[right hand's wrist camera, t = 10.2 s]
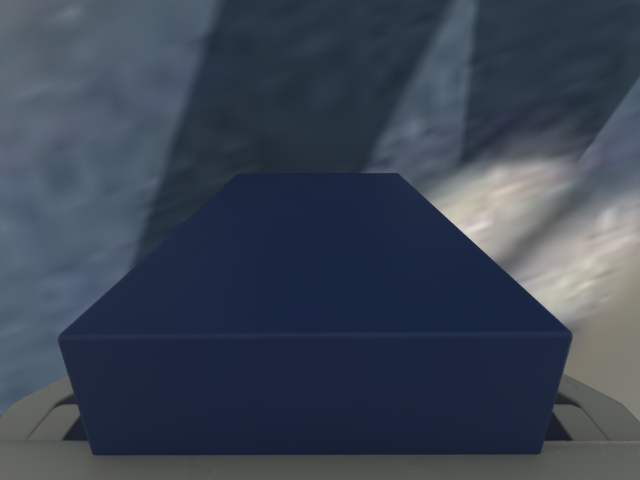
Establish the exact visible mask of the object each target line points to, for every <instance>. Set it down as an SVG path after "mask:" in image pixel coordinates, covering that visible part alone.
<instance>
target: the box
mask: <svg viewBox="0 0 640 480" xmlns="http://www.w3.org/2000/svg"><path fill="white" fill-rule="evenodd" d="M572 338H573V337H572V333H571V331H570V330H569V329H568V328H567V327H565V326H564V325H563V324H562V323H561V322H560V321H559V320H558V319H557V318H556V317H555V316H553V315H552V314H551V313H550V312H549V311H548V310H547V309H546V308H545V307H544V306H542V305H541V304H540V303H539V302H538V301H537V300H536V299H535V298H534V297H533V296H532V295H530V294H529V293H528V292H527V291H526V290H525V289H524V288H523V287H522V286H521V285H519V284H518V283H517V282H516V281H515V280H514V279H513V278H512V277H511V276H510V275H509V274H507V273H506V272H505V271H504V270H503V269H502V268H501V267H500V266H499V265H498V264H497V263H495V262H494V261H493V260H492V259H491V258H490V257H489V256H488V255H487V254H486V253H484V252H483V251H482V250H481V249H480V248H479V247H478V246H477V245H476V244H475V243H474V242H472V241H471V240H470V239H469V238H468V237H467V236H466V235H465V234H464V233H463V232H462V231H460V230H459V229H458V228H457V227H456V226H455V225H454V224H453V223H452V222H451V221H449V220H448V219H447V218H446V217H445V216H444V215H443V214H442V213H441V212H440V211H439V210H437V209H436V208H435V207H434V206H433V205H432V204H431V203H430V202H429V201H428V200H427V199H425V198H424V197H423V196H422V195H421V194H420V193H419V192H418V191H417V190H416V189H414V188H413V187H412V186H411V185H410V184H409V183H408V182H407V181H406V180H405V179H404V178H402V177H401V176H400V175H399V174H398V173H342V174H238V175H236V176H235V177H234V178H233V179H232V180H231V181H230V182H229V183H227V184H226V185H225V186H224V187H223V188H222V189H221V190H220V191H219V192H217V193H216V194H215V195H214V196H213V197H212V198H211V199H210V200H209V201H207V202H206V203H205V204H204V205H203V206H202V207H201V208H200V209H199V210H198V211H196V212H195V213H194V214H193V215H192V216H191V217H190V218H189V219H188V220H186V221H185V222H184V223H183V224H182V225H181V226H180V227H179V228H178V229H176V230H175V231H174V232H173V233H172V234H171V235H170V236H169V237H168V238H166V239H165V240H164V241H163V242H162V243H161V244H160V245H159V246H158V247H156V248H155V249H154V250H153V251H152V252H151V253H150V254H149V255H148V256H146V257H145V258H144V259H143V260H142V261H141V262H140V263H139V264H138V265H136V266H135V267H134V268H133V269H132V270H131V271H130V272H129V273H128V274H126V275H125V276H124V277H123V278H122V279H121V280H120V281H119V282H118V283H117V284H115V285H114V286H113V287H112V288H111V289H110V290H109V291H108V292H107V293H105V294H104V295H103V296H102V297H101V298H100V299H99V300H98V301H97V302H95V303H94V304H93V305H92V306H91V307H90V308H89V309H88V310H87V311H85V312H84V313H83V314H82V315H81V316H80V317H79V318H78V319H77V320H75V321H74V322H73V323H72V324H71V325H70V326H69V327H68V328H67V329H65V330H64V331H63V332H62V333H61V334H60V335H59V337H58V343H59V346H60V349H61V353H62V356H63V359H64V362H65V366H66V369H67V372H68V376H69V379H70V382H71V386H72V389H73V392H74V396H75V399H76V402H77V406H78V409H79V412H80V416H81V419H82V422H83V425H84V429H85V432H86V435H87V439H88V442H89V445H90V449H91V452H92V454H93V455H521V454H540V453H541V450H542V446H543V443H544V439H545V436H546V432H547V428H548V425H549V421H550V418H551V414H552V410H553V407H554V403H555V400H556V396H557V392H558V389H559V385H560V381H561V378H562V374H563V371H564V367H565V363H566V360H567V356H568V353H569V349H570V345H571V342H572Z"/></svg>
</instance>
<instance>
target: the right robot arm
mask: <svg viewBox="0 0 640 480" xmlns="http://www.w3.org/2000/svg"><path fill="white" fill-rule="evenodd" d="M0 480H640V422H639V421H638V419H636V417H635V416H633V414H632V413H631V412H630V411H629V410H628V409H627V408H626V407H625V406H624V405H623V404H622V403H620V402H618V401H616V400H614V399H612V398H610V397H608V396H606V395H604V394H603V393H601V392H599V391H597V390H595V389H593V388H591V387H589V386H587V385H585V384H583V383H581V382H579V381H577V380H575V379H573V378H571V377H570V376H568V375H566V374H564V373H563V374H562V378H561V381H560V385H559V389H558V392H557V396H556V400H555V403H554V407H553V410H552V414H551V418H550V421H549V425H548V428H547V432H546V436H545V439H544V443H543V446H542V450H541V453H540V454H521V455H93V454H92V452H91V449H90V445H89V442H88V439H87V435H86V432H85V429H84V425H83V422H82V419H81V416H80V412H79V409H78V406H77V402H76V399H75V396H74V392H73V389H72V386H71V382H70V379H69V376H66V377H64V378H62V379H60V380H58V381H56V382H54V383H52V384H50V385H48V386H46V387H44V388H42V389H40V390H38V391H36V392H34V393H32V394H30V395H28V396H26V397H24V398H22V399H21V400H19V401H17V402H15V403H13V404H12V405H11V406H10V407H9V408H8V409H7V410H6V411H5V412H4V413H3V414H2V415H1V416H0Z"/></svg>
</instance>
